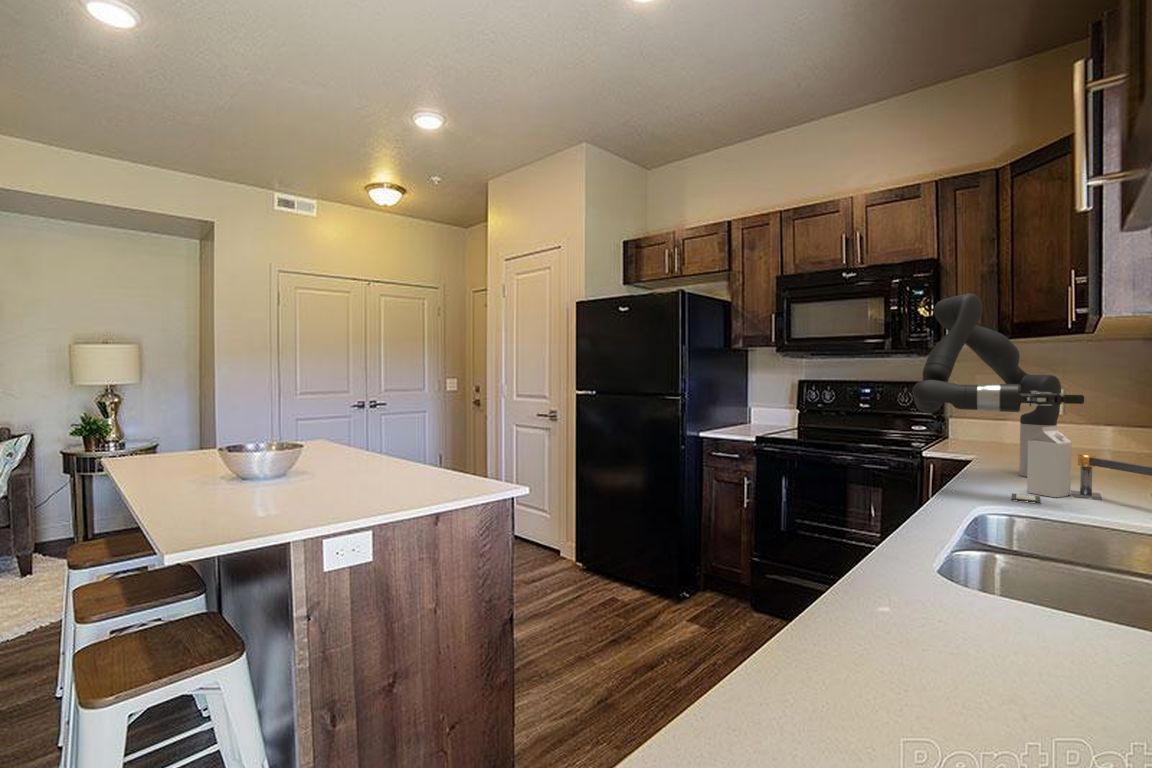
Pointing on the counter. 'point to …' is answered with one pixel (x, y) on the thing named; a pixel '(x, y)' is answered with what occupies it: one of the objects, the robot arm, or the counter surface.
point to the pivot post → (1086, 485)
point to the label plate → (1026, 498)
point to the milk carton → (1049, 463)
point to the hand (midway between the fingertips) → (1083, 399)
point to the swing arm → (1113, 464)
